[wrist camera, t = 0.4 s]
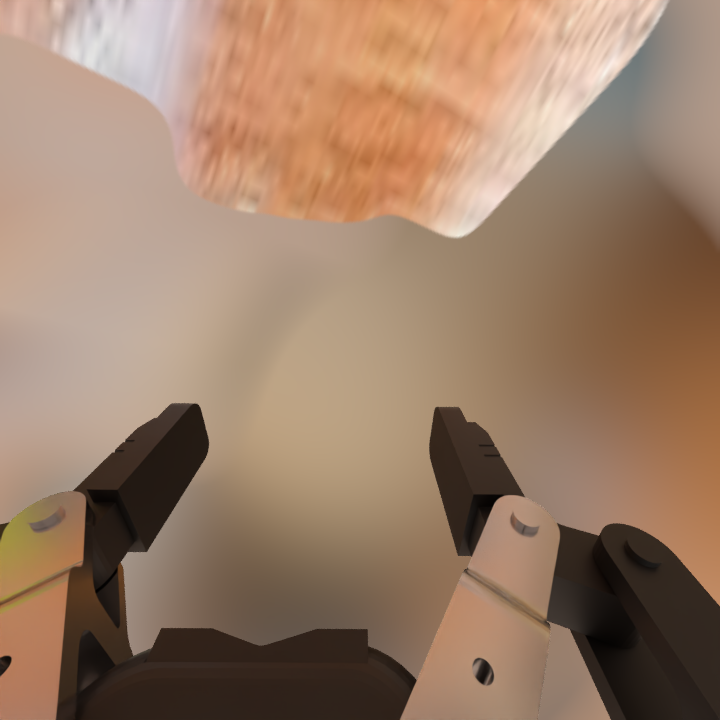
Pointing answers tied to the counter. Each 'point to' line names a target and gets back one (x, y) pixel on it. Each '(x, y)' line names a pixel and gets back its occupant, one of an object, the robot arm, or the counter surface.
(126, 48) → the counter surface
